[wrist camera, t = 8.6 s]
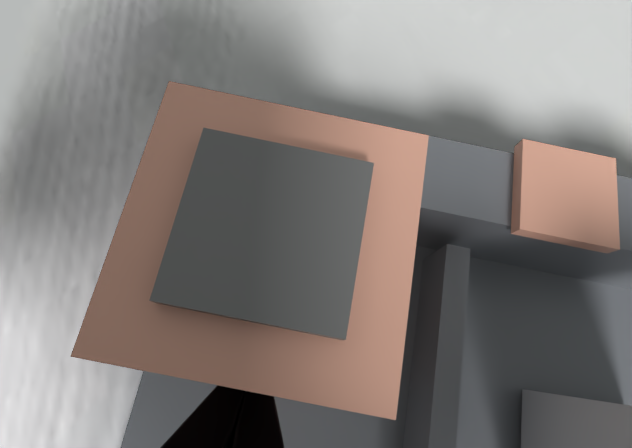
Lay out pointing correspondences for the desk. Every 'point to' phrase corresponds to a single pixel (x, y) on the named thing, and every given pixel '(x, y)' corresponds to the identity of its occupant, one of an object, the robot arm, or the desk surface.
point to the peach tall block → (264, 253)
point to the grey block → (573, 422)
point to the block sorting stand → (481, 307)
